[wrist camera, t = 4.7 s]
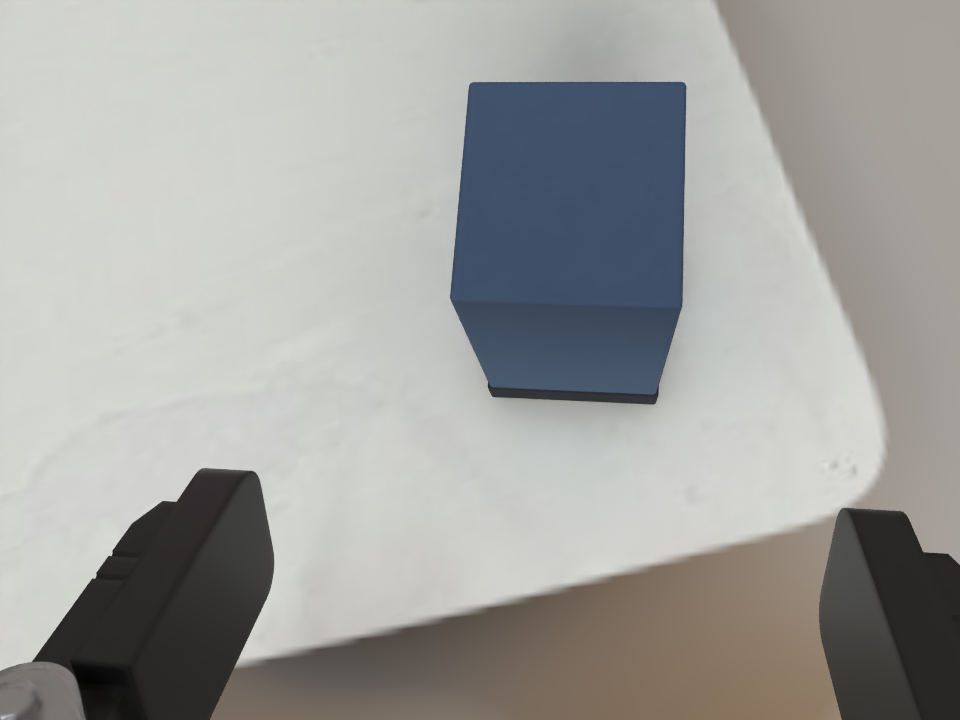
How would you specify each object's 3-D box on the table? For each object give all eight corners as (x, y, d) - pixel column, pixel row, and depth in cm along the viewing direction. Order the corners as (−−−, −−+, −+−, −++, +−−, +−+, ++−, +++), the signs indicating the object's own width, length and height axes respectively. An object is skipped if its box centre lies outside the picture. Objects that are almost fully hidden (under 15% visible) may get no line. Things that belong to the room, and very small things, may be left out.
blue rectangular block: (660, 237, 25) (689, 77, 18) (656, 404, 24) (685, 310, 16) (503, 233, 26) (466, 78, 18) (491, 397, 25) (446, 303, 17)
